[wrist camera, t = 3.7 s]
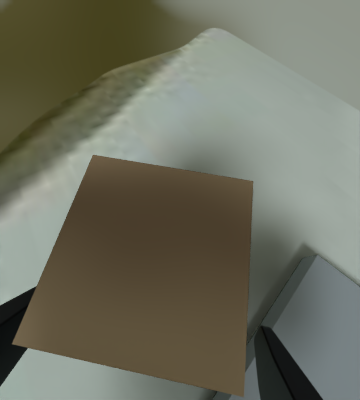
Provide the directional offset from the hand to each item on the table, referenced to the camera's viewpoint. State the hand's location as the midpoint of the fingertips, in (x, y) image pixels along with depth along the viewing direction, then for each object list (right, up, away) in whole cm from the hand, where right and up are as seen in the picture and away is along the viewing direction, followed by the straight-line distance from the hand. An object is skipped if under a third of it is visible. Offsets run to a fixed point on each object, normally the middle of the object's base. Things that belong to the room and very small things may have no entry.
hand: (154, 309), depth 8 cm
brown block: (0, -2, +9) cm, 9 cm away
